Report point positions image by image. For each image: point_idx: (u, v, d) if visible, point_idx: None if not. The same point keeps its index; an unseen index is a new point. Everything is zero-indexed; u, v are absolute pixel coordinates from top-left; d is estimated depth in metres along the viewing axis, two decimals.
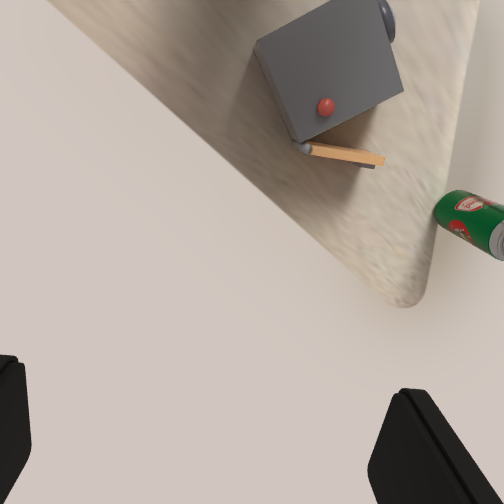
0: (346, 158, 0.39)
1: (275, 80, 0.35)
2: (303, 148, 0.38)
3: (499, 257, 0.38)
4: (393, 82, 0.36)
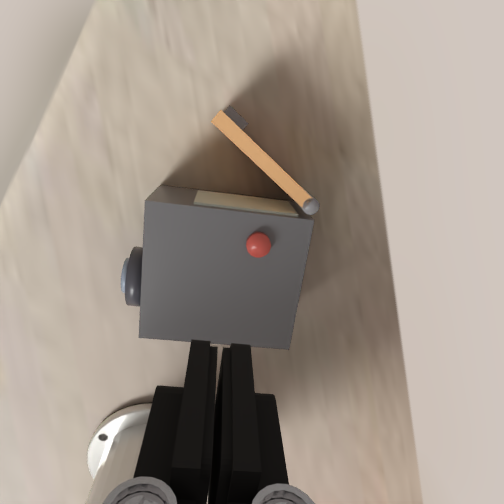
0: (267, 158, 0.23)
1: (296, 304, 0.27)
2: (315, 210, 0.25)
3: None
4: (154, 219, 0.24)
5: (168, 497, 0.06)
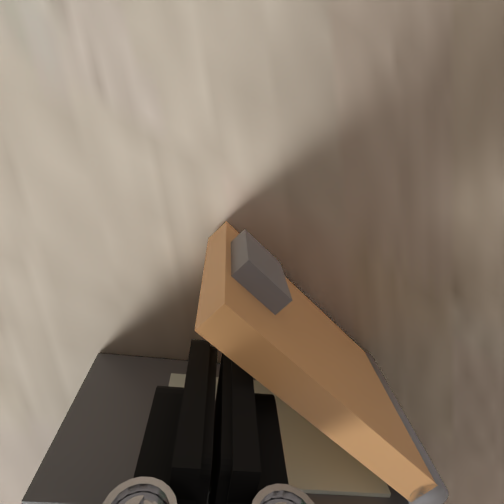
0: (340, 411, 0.09)
1: None
2: None
3: None
4: None
5: (168, 497, 0.06)
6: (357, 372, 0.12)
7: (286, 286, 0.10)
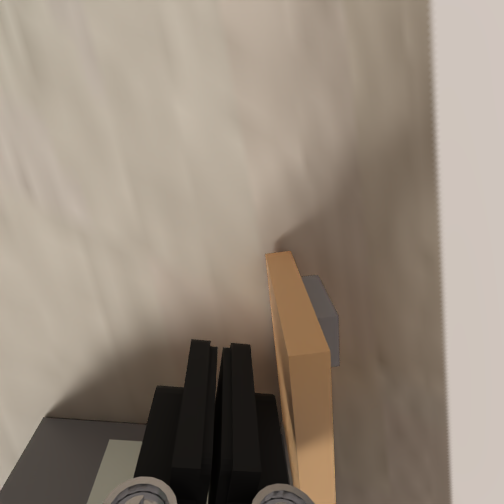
0: (327, 481, 0.10)
1: None
2: None
3: None
4: None
5: (168, 497, 0.06)
6: None
7: None
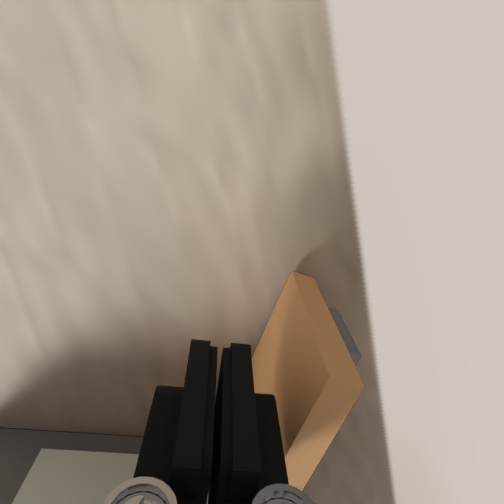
0: None
1: None
2: None
3: None
4: None
5: (168, 497, 0.06)
6: None
7: None
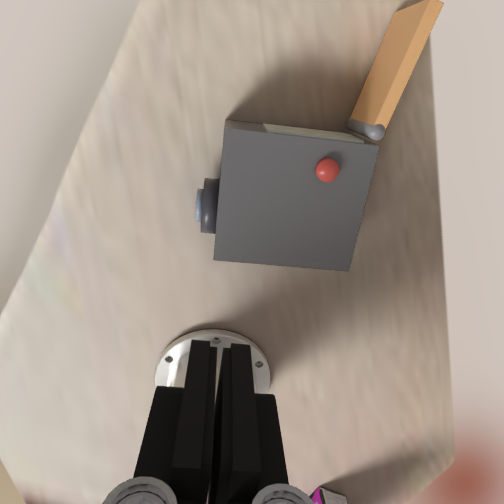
0: (409, 70, 0.25)
1: (357, 228, 0.29)
2: (374, 137, 0.26)
3: None
4: (232, 146, 0.26)
5: (168, 497, 0.06)
6: None
7: None
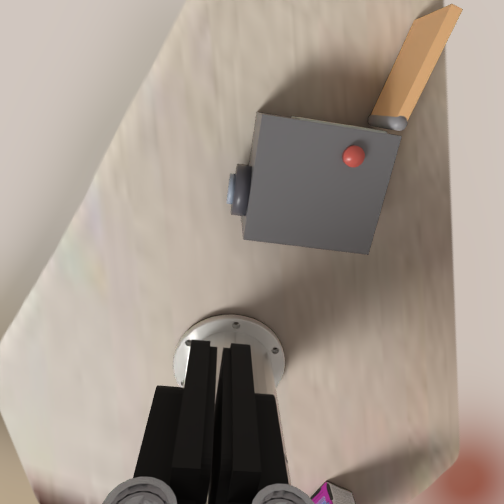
0: (431, 68, 0.27)
1: (378, 213, 0.31)
2: (397, 128, 0.29)
3: None
4: (268, 131, 0.28)
5: (168, 497, 0.06)
6: None
7: None
